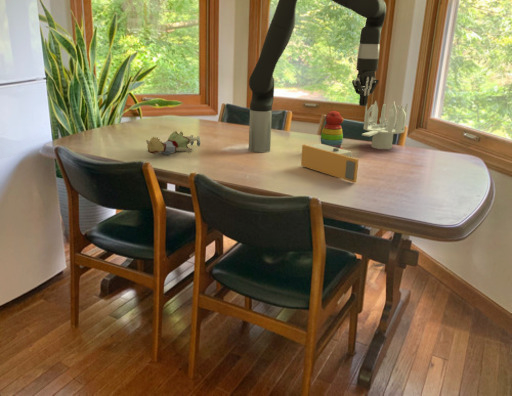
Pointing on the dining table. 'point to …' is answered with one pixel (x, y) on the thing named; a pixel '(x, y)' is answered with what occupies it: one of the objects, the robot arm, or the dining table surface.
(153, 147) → the figurine
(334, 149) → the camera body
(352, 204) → the dining table surface
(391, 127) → the decorative object
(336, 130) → the stacking bear
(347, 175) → the side door
